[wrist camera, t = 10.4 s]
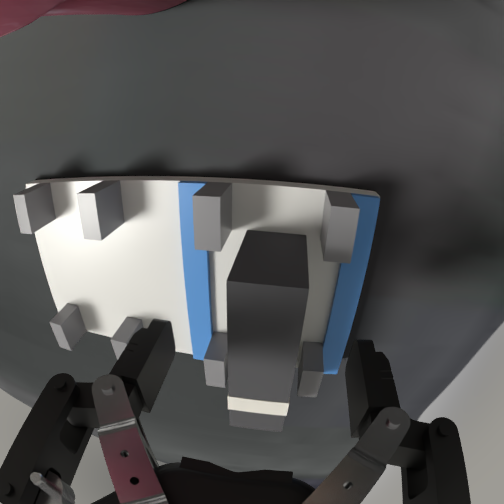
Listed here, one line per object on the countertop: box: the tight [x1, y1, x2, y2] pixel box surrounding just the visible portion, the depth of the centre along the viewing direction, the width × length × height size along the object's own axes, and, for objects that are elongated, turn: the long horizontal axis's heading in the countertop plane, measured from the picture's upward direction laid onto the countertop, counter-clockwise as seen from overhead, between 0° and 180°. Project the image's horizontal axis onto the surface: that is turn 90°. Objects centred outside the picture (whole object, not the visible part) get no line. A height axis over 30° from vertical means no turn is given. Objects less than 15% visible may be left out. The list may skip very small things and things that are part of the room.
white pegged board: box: [13, 176, 380, 397], centre depth 17 cm, size 12×22×4 cm, turn 88°
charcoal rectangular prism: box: [226, 230, 309, 432], centre depth 15 cm, size 10×3×5 cm, turn 178°
